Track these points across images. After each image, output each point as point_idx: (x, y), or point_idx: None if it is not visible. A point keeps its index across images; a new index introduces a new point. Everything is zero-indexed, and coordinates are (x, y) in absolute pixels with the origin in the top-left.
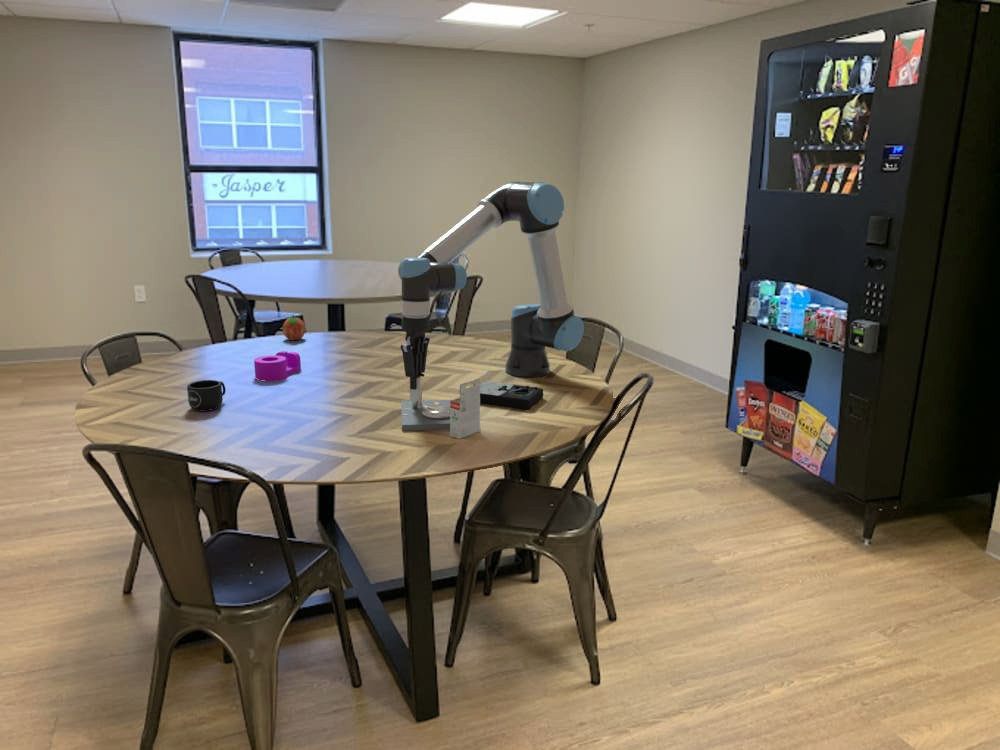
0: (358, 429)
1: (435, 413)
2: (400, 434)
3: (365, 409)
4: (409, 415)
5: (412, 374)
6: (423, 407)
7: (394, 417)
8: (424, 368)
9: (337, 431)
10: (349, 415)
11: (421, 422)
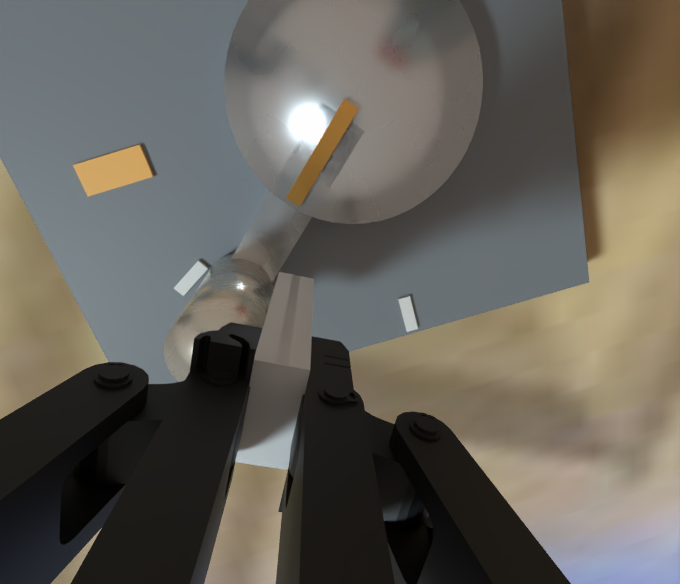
0: (553, 467)
1: (423, 104)
2: (626, 263)
3: (259, 531)
4: (410, 288)
5: (460, 454)
6: (301, 230)
7: (353, 371)
8: (82, 391)
9: (581, 531)
10: None
11: (540, 176)
